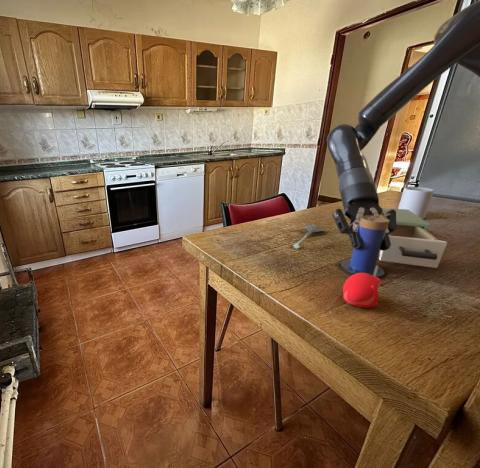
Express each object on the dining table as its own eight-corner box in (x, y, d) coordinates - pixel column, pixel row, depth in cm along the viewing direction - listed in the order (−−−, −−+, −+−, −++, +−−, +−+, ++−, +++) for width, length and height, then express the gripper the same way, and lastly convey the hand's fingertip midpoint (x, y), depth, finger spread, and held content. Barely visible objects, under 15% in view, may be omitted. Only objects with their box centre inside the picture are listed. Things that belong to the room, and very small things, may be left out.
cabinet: (420, 253, 72) (430, 224, 69) (365, 246, 77) (373, 219, 74) (400, 234, 85) (408, 209, 82) (355, 230, 90) (360, 206, 87)
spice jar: (371, 264, 66) (385, 216, 62) (377, 274, 62) (393, 223, 57) (347, 260, 68) (358, 214, 64) (350, 270, 64) (363, 220, 59)
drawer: (446, 276, 59) (457, 249, 57) (384, 267, 64) (392, 242, 61) (413, 245, 75) (421, 223, 73) (366, 240, 79) (372, 219, 77)
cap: (370, 317, 49) (379, 290, 46) (335, 303, 53) (341, 277, 51) (381, 299, 53) (390, 274, 51) (348, 288, 58) (355, 264, 55)
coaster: (378, 264, 67) (378, 262, 67) (389, 281, 60) (389, 279, 59) (338, 258, 71) (338, 257, 71) (343, 274, 63) (344, 272, 63)
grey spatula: (327, 233, 90) (307, 229, 95) (328, 223, 89) (308, 221, 94) (307, 251, 75) (284, 246, 80) (308, 240, 74) (285, 236, 79)
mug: (423, 221, 97) (433, 192, 93) (394, 216, 103) (402, 189, 99) (426, 214, 104) (435, 187, 100) (398, 210, 110) (406, 184, 106)
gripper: (334, 181, 66) (347, 242, 59) (396, 180, 64) (417, 244, 57) (321, 196, 72) (332, 253, 66) (378, 196, 70) (394, 255, 64)
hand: (371, 248), depth 61 cm, fingers closed on spice jar, 5 cm apart
